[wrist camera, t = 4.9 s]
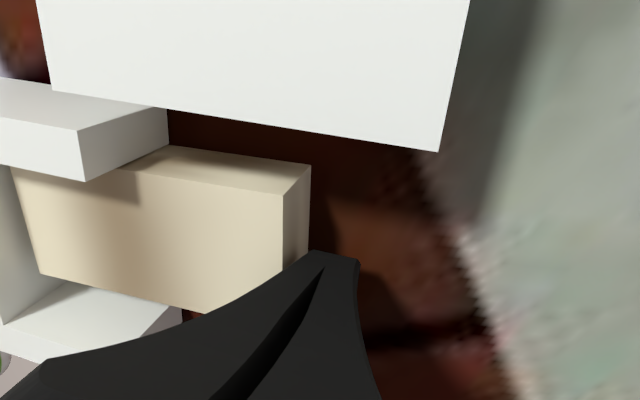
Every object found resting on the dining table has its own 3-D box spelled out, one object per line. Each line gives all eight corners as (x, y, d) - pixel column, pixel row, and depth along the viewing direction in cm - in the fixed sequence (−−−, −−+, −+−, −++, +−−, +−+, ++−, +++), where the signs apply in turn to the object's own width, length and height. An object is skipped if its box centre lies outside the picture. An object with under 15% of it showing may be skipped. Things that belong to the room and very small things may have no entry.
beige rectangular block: (314, 161, 12) (282, 195, 9) (309, 280, 13) (281, 332, 11) (77, 127, 14) (4, 150, 11) (99, 235, 15) (39, 273, 13)
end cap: (166, 102, 12) (76, 131, 9) (182, 321, 15) (120, 391, 12) (-16, 74, 13) (-141, 90, 10) (36, 280, 17) (-49, 334, 14)
